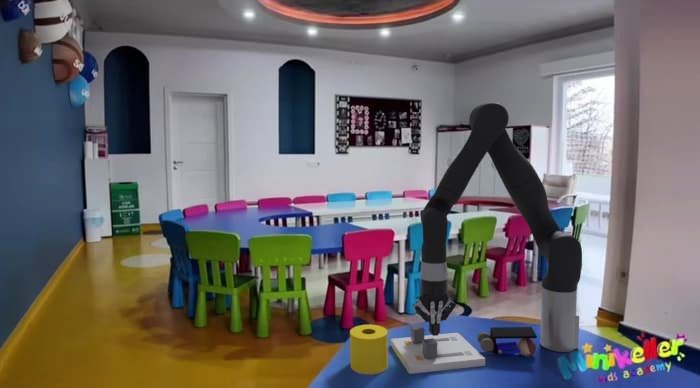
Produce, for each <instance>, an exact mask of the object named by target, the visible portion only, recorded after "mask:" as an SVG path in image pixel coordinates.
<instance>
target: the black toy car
mask: <svg viewBox="0 0 700 388" xmlns="http://www.w3.org/2000/svg"><path fill="white" fill-rule="evenodd" d="M537 338H538V336H537V334H536V333H535V330H534V329H533V327H532V326H509V327H507V326H506V327H504V326H503V327H502V326H501V327H497V326H495V327H490V333H489V332H487V331H481V332H479V333H478V335H477V341H478V343H479V345H480V348H481V349H482V350H483V351H484V352H486V353H492V354H487V355H486V357H497V356H500V355H512V354H521V355H522V356H524V357H532V356H533V355H535V353H536V351H537V346H536V343H535V341H534V340H533V339H537ZM497 339H498V340H499V339H500V340H501V339H519V340H518V341H517V342H516V340H515V341H503V342H497Z"/></svg>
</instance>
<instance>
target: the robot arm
mask: <svg viewBox="0 0 700 388" xmlns="http://www.w3.org/2000/svg"><path fill="white" fill-rule="evenodd" d="M509 116H510V115H509V113H508V109H507V108H506V107H505V106H504V105H503V104H501V103H498V102H486V103H482V104H478V105H477V106H475V107H474V108H473V109H472V111H471V112H470V114H469V120H468V123H469V126H470V129H471V131H470V133H469V136H468V138H467V140H466V142H465V143H464V146H462V148H461V150H460V152H459V153H458V154H457V155H456V157H455V158H454V159H453V160H452V162H451V163H450V165H449V166H448V167H447V169H446V171H445V172H444V175H442V178H441V180H440V182H439V183H438V185H437V187H436V189H435V191H434V193H433V195H431V197H430V199H429V200H428V201H427V203H426V205H425V206H424V208H423V210H422V212H421V213H420V223H421V225H422V243H421V265H420V296H419V300H418V301H417V302H416V303H413V304H412V308H413V309H414V310H415V311H416V313H417V314H419V316H420V317H421V319H422V320H423V321H425V323H428V332H429V333H430V335H433V336H437V335H438V334H441V323H442V322H443V321H446V320H447V319H448V318H449V317H450V315H451V313H452V312H453V311H454V309H455V308H456V306H457V304H456V302H455V301H453V300H451V299H450V298H449V295H448V275H449V273H448V265H447V239H448V228H449V225H448V223H449V222H448V215H449V213H450V212H451V210H452V209H453V206H455V205H456V204H458V202H459V200H460V199H461V197H462V196H463V193H464V192H465V190H466V188H467V186H468V185H469V183H470V181H471V179H472V177H473V176H474V174H475V172H476V171H477V169H478V167H479V165H480V164H481V162H482V160H483V159H484V157H486V154H488V155H489V157H490V159H491V161H492V163H493V165H494V167H495V170H496V171H497V174H498V176H499V178H500V179H501V181H502V183H503V185H504V187H505V189H506V191H507V193H508V195H509V196H510V198H511V200H512V201H513V203H514V205H515V206H516V208H517V210H518V211H519V213H520V215H521V216H522V218H523V219H524V221H525V222H526V224H527V226H528V228H529V231H530V232H531V234H532V237H533V240H534V242H535V244H536V246H537V248H538V249H537V250H538V252H539V254H540V255H541V256H542V257H543V258H544V259H545V260H547V261H548V262H547V263H548V266H547V273H546V274H545V275H543V276H542V279H541V307H540V308H541V309H540V310H541V311H540V314H541V315H540V345H541V346H542V347H543V348H545V349H547V350H548V351H553V352H556V353H557V352H558V353H570V352H574V350H576V349H579V337H580V336H579V335H580V316H579V315H578V314H577V296H578V294H577V293H578V283H579V282H580V279H581V275H582V262H583V250H582V245H581V243H580V241H579V240H578V239H577V238H576V237H575V236H573V235H571V234H568V233H565V232H564V231H563V230H562V229H561V227H560V226H559V225H558V223H557V221H556V220H555V218H554V217H553V215H552V213H551V210H550V207H549V201H548V196H547V191H546V188H545V186H544V183H543V182H542V179H541V178H540V176H539V174H538V173H537V171H536V169H535V168H534V166H533V165H532V163H531V162H530V161H529V160H528V159H527V157H526V156H525V155H524V154H523V153H522V152H521V150H519V148H517V146H516V145H515V143H514V142H513V141H512V139H511V137H510V135H509V133H508V132H507V131H508V130H507V129H506V128H507V127H508V123H509V120H510V119H509V118H510V117H509ZM423 307H424V309H425V310H426V312H427V314H425V313H424V311H423Z"/></svg>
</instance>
